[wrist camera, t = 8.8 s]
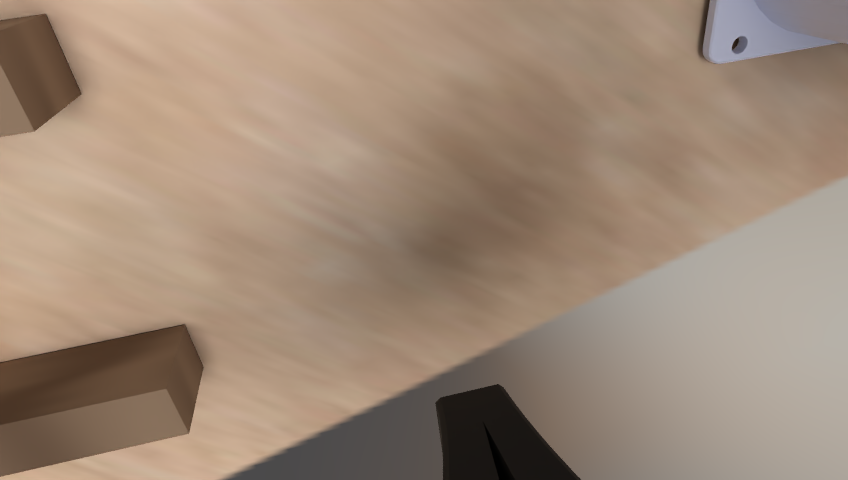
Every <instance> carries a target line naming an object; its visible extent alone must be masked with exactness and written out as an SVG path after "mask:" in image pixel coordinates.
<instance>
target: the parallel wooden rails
mask: <svg viewBox="0 0 848 480" xmlns="http://www.w3.org/2000/svg"><path fill="white" fill-rule="evenodd" d="M80 95H81V92H80V90H79V88H78V86H77V83H76V81H75V79H74V77H73V74H72V72H71V70H70V68H69V66H68V63H67V61H66V59H65V57H64V54H63V52H62V50H61V48H60V45H59V43H58V41H57V39H56V36H55V34H54V32H53V30H52V28H51V25H50V23H49V21H48V19H47V16H46V14H42V15H35V16H28V17H21V18H14V19H7V20H0V137H3V136H9V135H15V134H21V133H27V132H33V131H35V130H37V129H38V128H39V127H41V126H42V125H43V124H44V123H46V122H47V121H48V120H49V119H51V118H52V117H53V116H54V115H56V114H57V113H58V112H59V111H61V110H62V109H63V108H65V107H66V106H67V105H68V104H70V103H71V102H72V101H73V100H75V99H76V98H77V97H78V96H80ZM202 371H203V365H202V363H201V361H200V359H199V356H198V354H197V352H196V350H195V347H194V345H193V343H192V341H191V338H190V336H189V334H188V332H187V329H186V327H185V325H181V326H177V327H172V328H167V329H162V330H157V331H152V332H148V333H143V334H138V335H133V336H128V337H123V338H119V339H114V340H109V341H104V342H99V343H94V344H90V345H85V346H80V347H75V348H70V349H66V350H61V351H56V352H51V353H46V354H41V355H37V356H32V357H27V358H22V359H17V360H12V361H8V362H3V363H0V477H1V476H5V475H10V474H14V473H18V472H23V471H27V470H31V469H36V468H40V467H45V466H49V465H53V464H58V463H62V462H66V461H71V460H75V459H80V458H84V457H88V456H93V455H97V454H101V453H106V452H110V451H115V450H119V449H123V448H128V447H132V446H136V445H141V444H145V443H150V442H154V441H158V440H163V439H167V438H171V437H176V436H180V435H185V434H189V431H190V426H191V422H192V417H193V413H194V408H195V403H196V399H197V394H198V390H199V385H200V380H201V376H202Z"/></svg>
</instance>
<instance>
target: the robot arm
mask: <svg viewBox="0 0 848 480" xmlns="http://www.w3.org/2000/svg"><path fill="white" fill-rule="evenodd" d="M738 37H739V42H738V45H737V46H736V48H735V49H734V50H732V45H733V42H734V41H735V40H736V39H737V38H738ZM837 43H845V44H848V0H710V4H709V10H708V17H707V23H706V30H705V37H704V43H703V55H704V57H705V59H706V60H708V61H710V62H713V63H716V64H723V63H728V62H734V61H740V60H745V59H751V58H757V57H763V56H768V55H774V54H780V53H786V52H791V51H797V50H803V49H808V48H814V47H820V46H826V45H831V44H837ZM436 411H437V417H438V424H439V430H440V438H441V444H442V452H443V480H581V479H580V478H579V477H578V476H577V475H576V474H575V473H574V472H573V471H572V470H571V469H570V468H569V467H568V465H566V463H565V462H564V461H563V460H562V459H561V458H560V457H559V456H558V455H557V453H555V451H554V450H553V449H552V448H551V447H550V446H549V445H548V444H547V442H546V441H545V440H544V439H543V438H542V437H541V435H540V434H539V433H538V432H537V431H536V429H535V428H534V427H533V426H532V425H531V423H530V422H529V421H528V420H527V418H526V417H525V416H524V415H523V413H522V412H521V411H520V410H519V408H518V407H517V406H516V404H515V403H514V402H513V400H512V399H511V397H510V396H509V395H508V393H507V392H506V390H505V389H504V388H503V387H502V386H500V385H499V384H497V385H493V386H488V387H484V388H480V389H475V390H471V391H467V392H463V393H458V394H454V395H450V396H446V397H442V398H440V399H439V400H438V401H437V402H436Z"/></svg>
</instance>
